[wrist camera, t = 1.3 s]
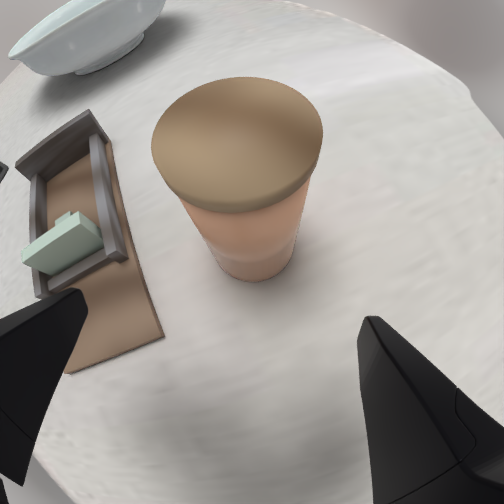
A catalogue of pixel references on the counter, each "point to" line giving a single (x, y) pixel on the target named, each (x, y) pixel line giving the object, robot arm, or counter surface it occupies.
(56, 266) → the block
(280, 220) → the jar
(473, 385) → the counter surface
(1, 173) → the cell phone
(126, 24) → the bowl
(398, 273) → the counter surface
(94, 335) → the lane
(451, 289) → the counter surface
